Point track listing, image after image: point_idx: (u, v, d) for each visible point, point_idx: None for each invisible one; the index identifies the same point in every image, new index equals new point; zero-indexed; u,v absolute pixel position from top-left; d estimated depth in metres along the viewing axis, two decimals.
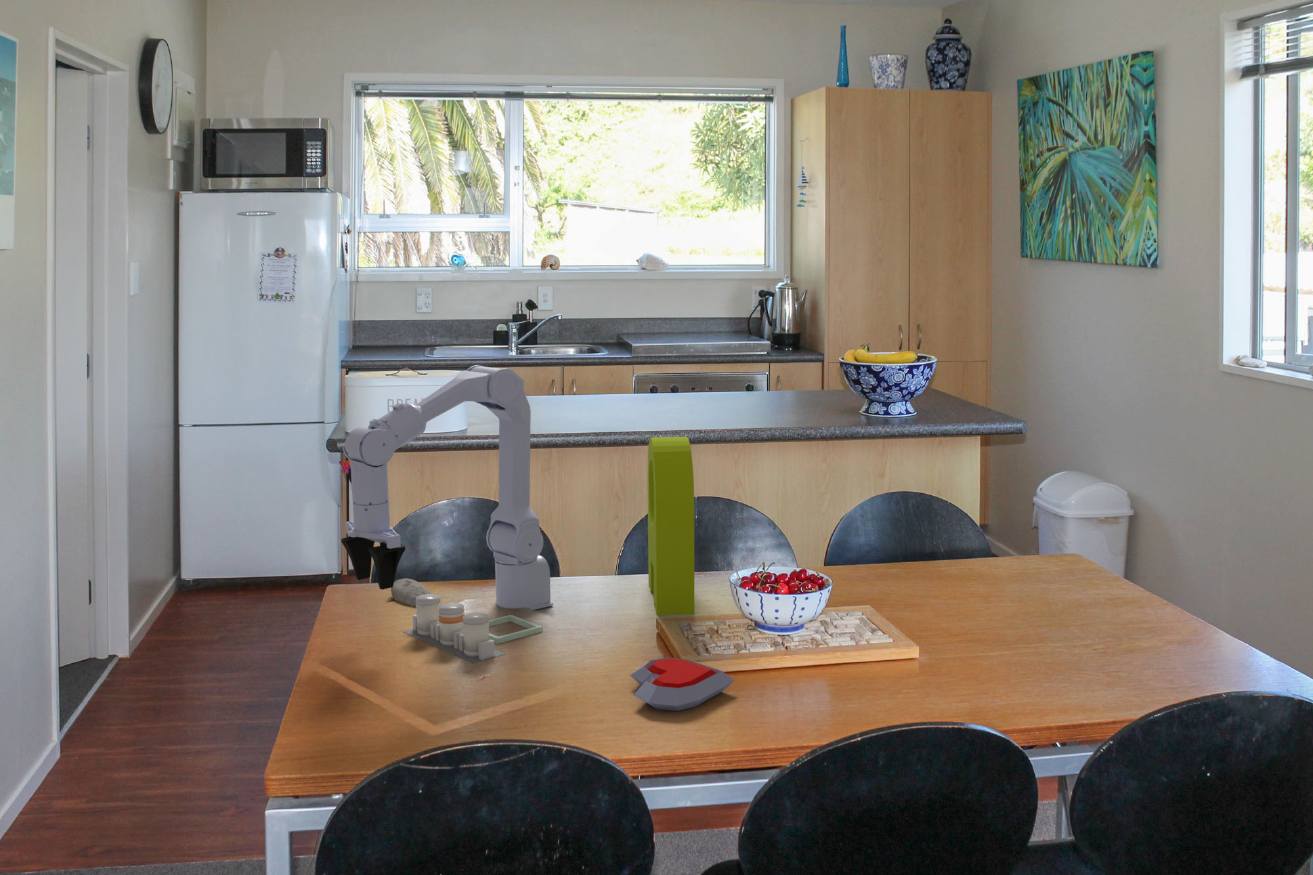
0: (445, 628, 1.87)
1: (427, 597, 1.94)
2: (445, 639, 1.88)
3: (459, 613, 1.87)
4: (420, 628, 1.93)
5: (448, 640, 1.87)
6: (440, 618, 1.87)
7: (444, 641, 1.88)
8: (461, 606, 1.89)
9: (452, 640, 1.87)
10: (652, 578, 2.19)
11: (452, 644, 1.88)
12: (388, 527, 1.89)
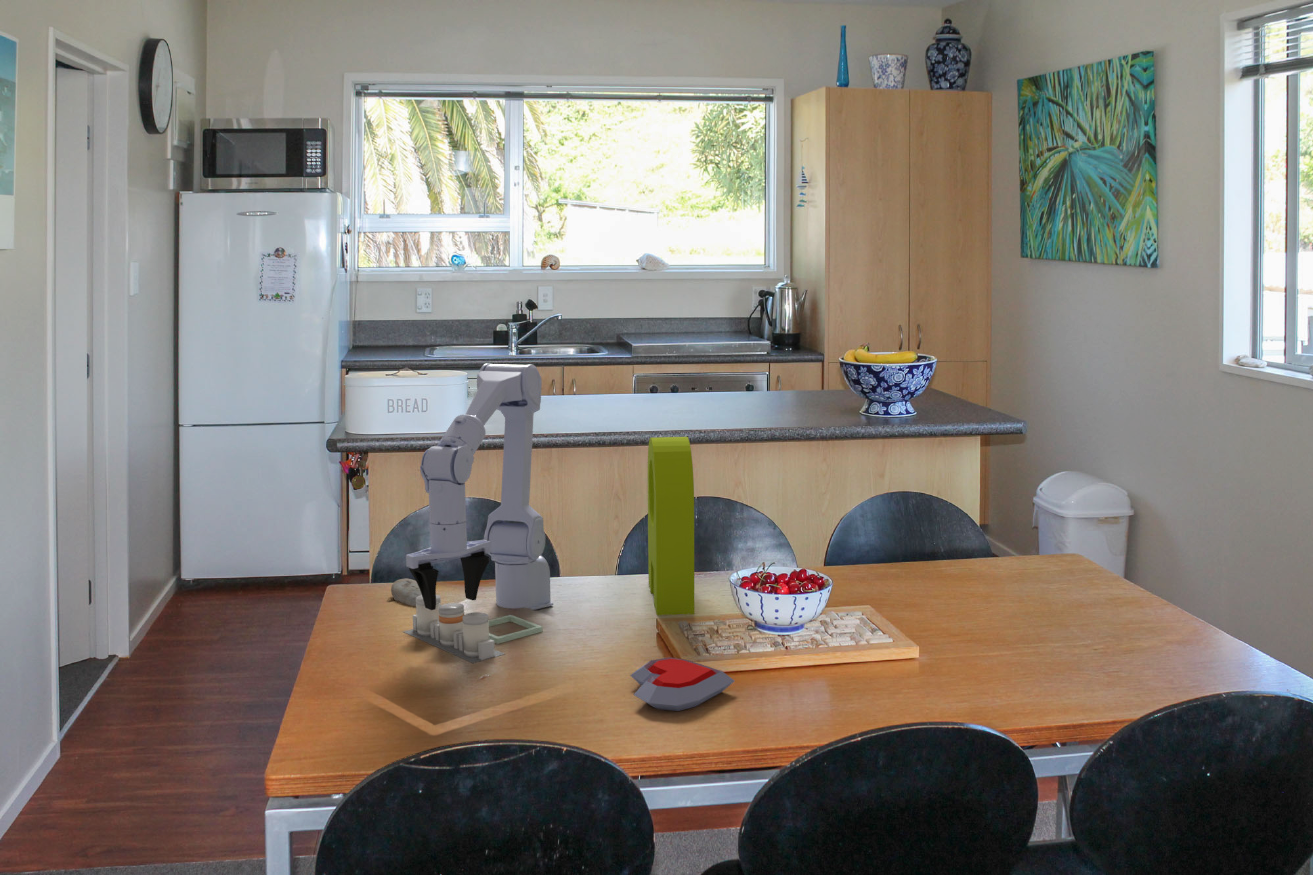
0: (445, 628, 1.87)
1: None
2: (445, 639, 1.88)
3: (459, 613, 1.87)
4: (420, 628, 1.93)
5: (448, 640, 1.87)
6: (440, 618, 1.87)
7: (444, 641, 1.88)
8: (461, 606, 1.89)
9: (452, 640, 1.87)
10: (652, 578, 2.19)
11: (452, 644, 1.88)
12: (442, 550, 1.84)
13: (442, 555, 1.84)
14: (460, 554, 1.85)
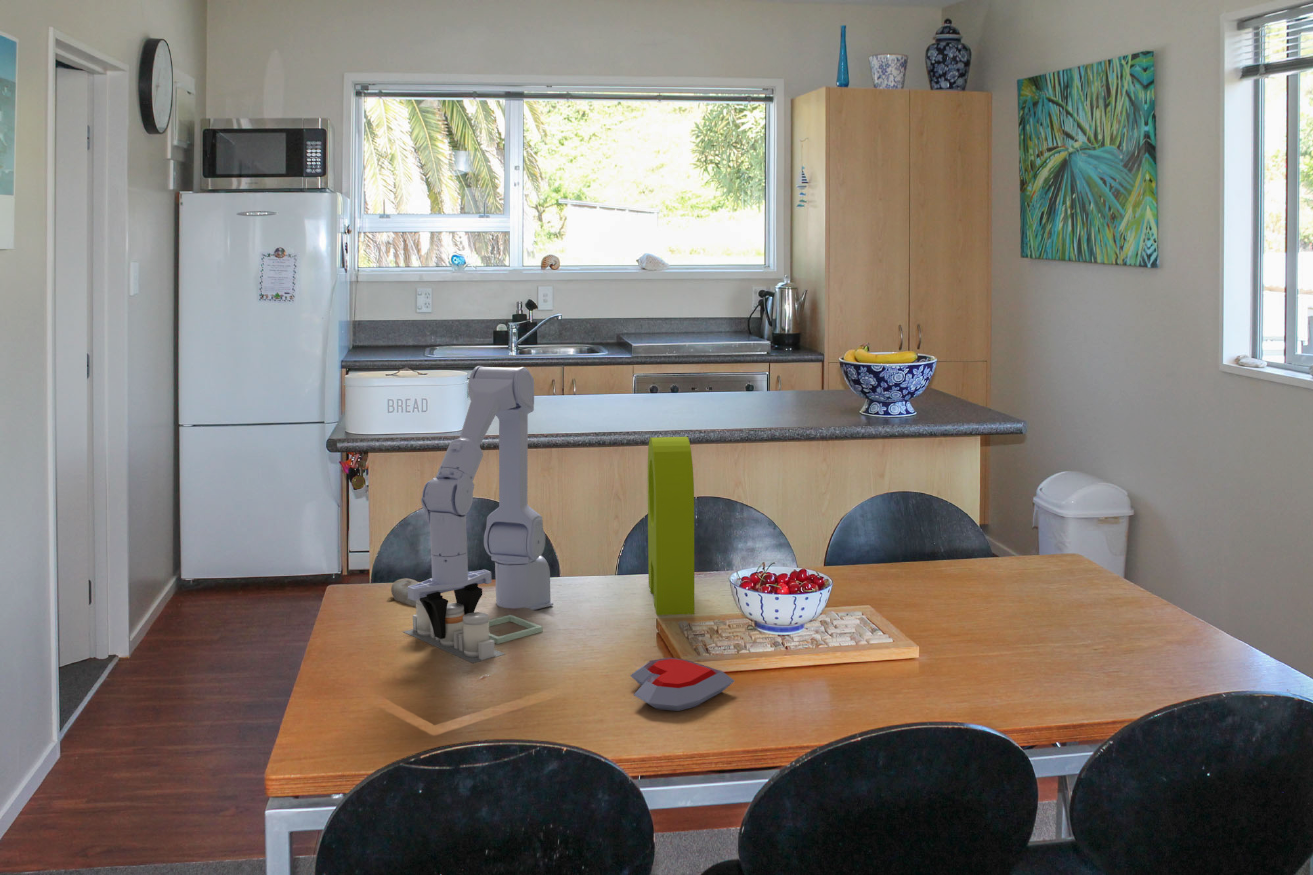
0: None
1: None
2: (445, 639, 1.88)
3: (459, 613, 1.87)
4: (420, 628, 1.93)
5: (448, 640, 1.87)
6: None
7: (444, 641, 1.88)
8: (461, 606, 1.89)
9: (452, 640, 1.87)
10: (652, 578, 2.19)
11: (452, 644, 1.88)
12: (443, 582, 1.85)
13: (443, 587, 1.84)
14: (461, 585, 1.86)
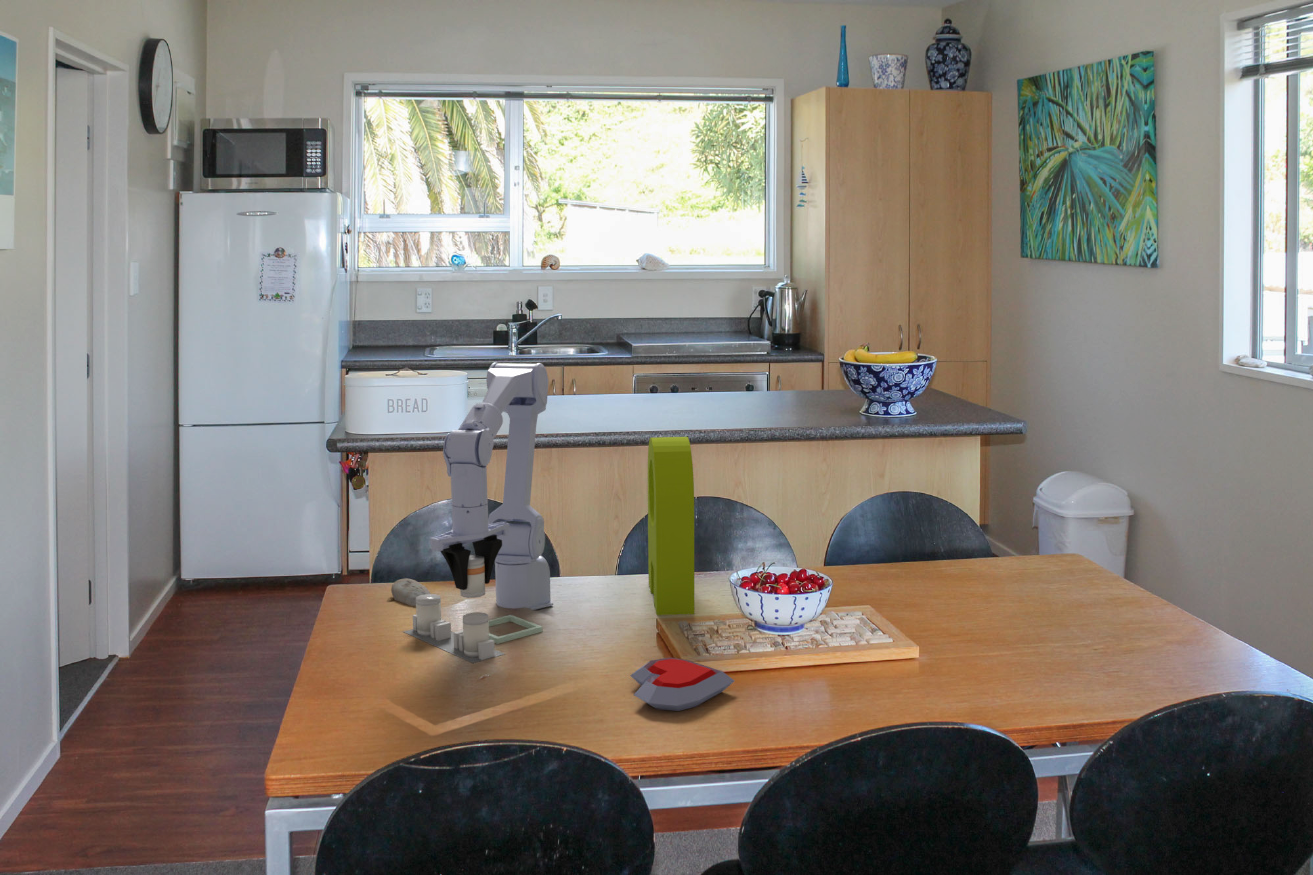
0: None
1: (427, 597, 1.94)
2: (467, 590, 1.89)
3: (480, 564, 1.89)
4: (420, 628, 1.93)
5: (470, 591, 1.89)
6: None
7: (465, 592, 1.89)
8: (481, 557, 1.90)
9: (474, 591, 1.89)
10: (652, 578, 2.19)
11: (474, 595, 1.89)
12: (466, 533, 1.86)
13: (466, 537, 1.86)
14: (483, 536, 1.87)
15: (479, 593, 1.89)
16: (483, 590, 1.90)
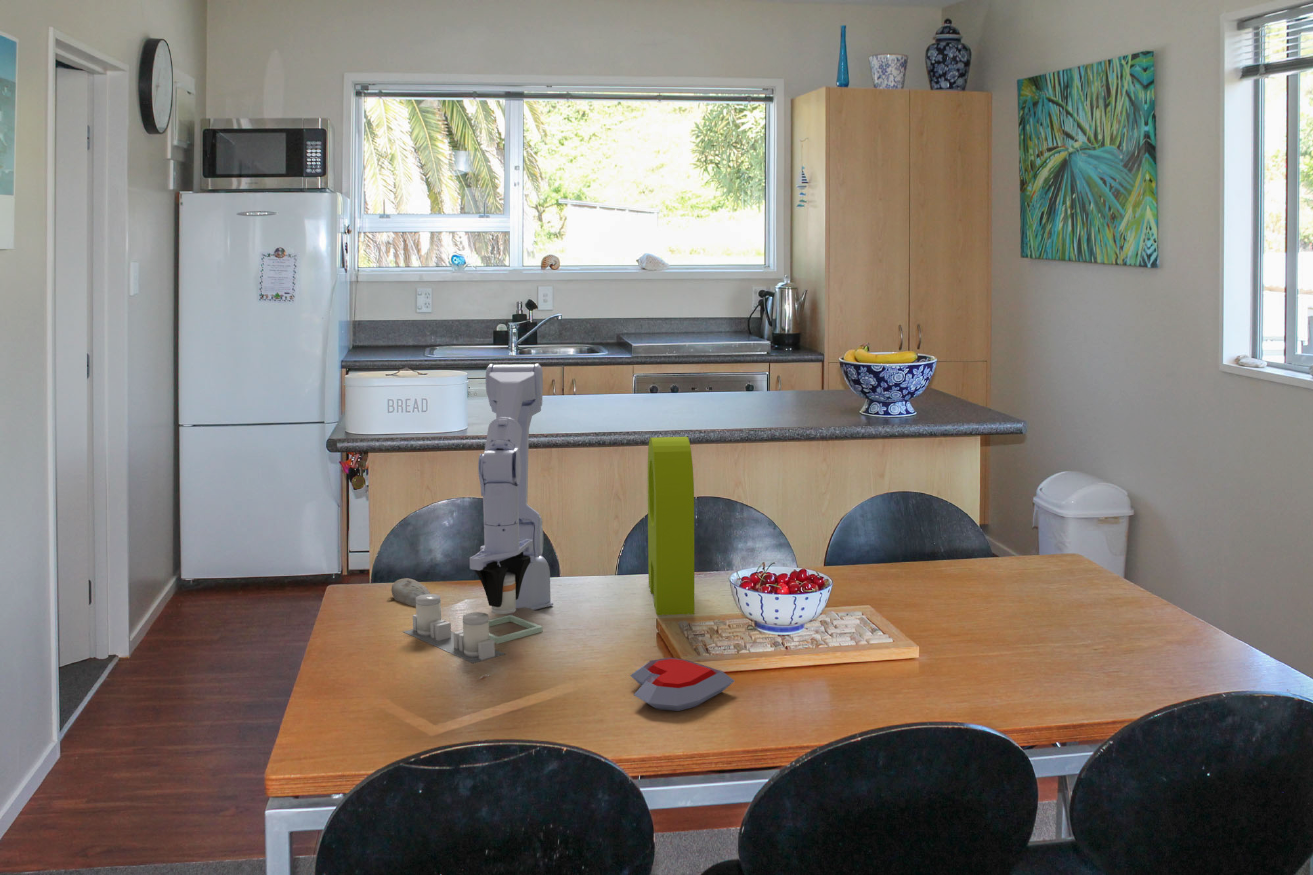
0: None
1: (427, 596, 1.94)
2: (501, 607, 1.92)
3: (513, 581, 1.93)
4: (420, 628, 1.93)
5: (504, 608, 1.92)
6: None
7: (499, 609, 1.92)
8: (511, 574, 1.94)
9: (508, 607, 1.93)
10: (652, 578, 2.19)
11: (508, 611, 1.93)
12: (502, 551, 1.90)
13: (503, 555, 1.90)
14: (517, 553, 1.92)
15: (512, 609, 1.93)
16: (515, 606, 1.94)
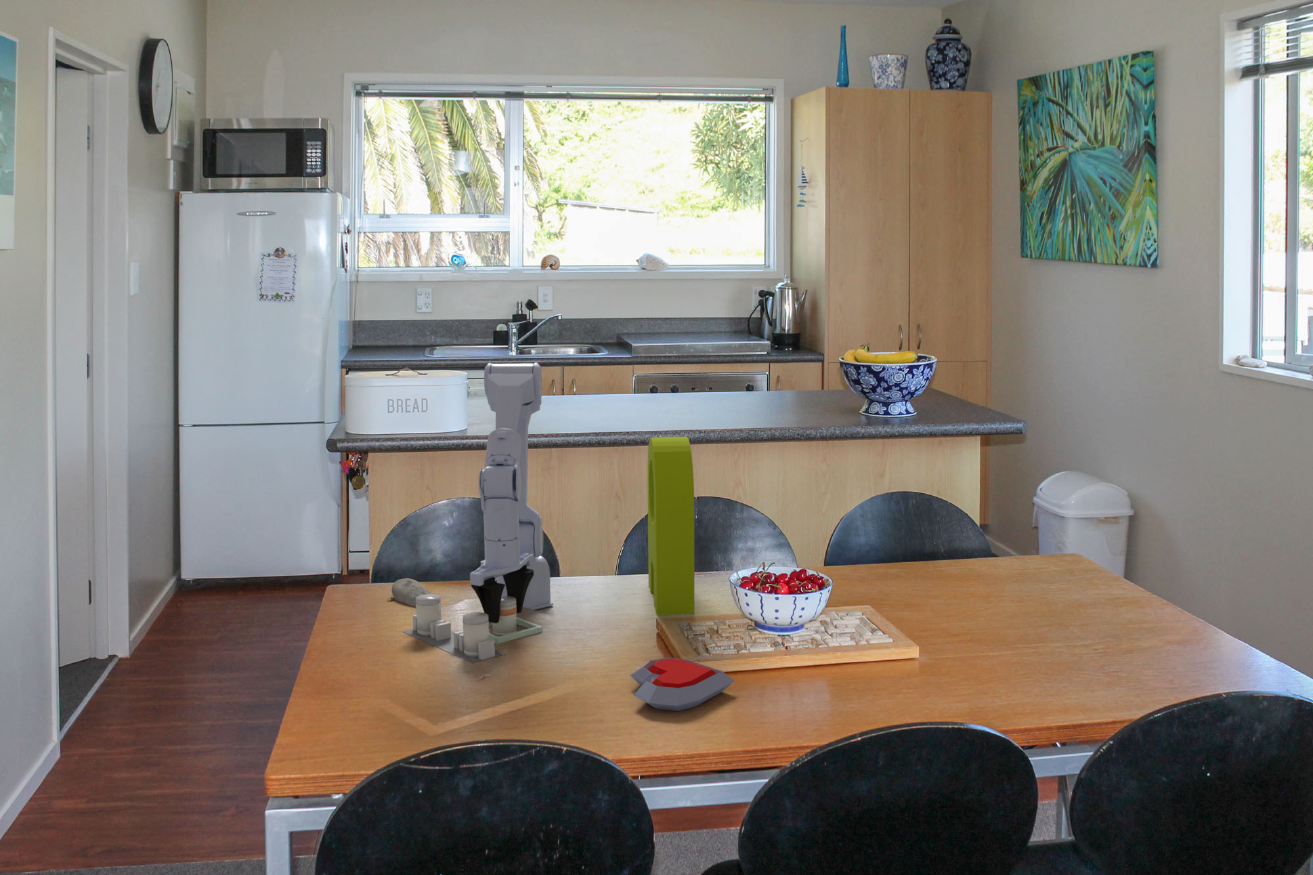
0: (501, 620, 1.93)
1: (427, 596, 1.94)
2: (502, 631, 1.93)
3: (514, 605, 1.94)
4: (420, 628, 1.93)
5: (505, 632, 1.93)
6: None
7: (500, 633, 1.93)
8: (512, 598, 1.95)
9: (509, 631, 1.93)
10: (652, 578, 2.19)
11: None
12: (502, 566, 1.90)
13: (503, 570, 1.90)
14: (518, 568, 1.92)
15: None
16: (516, 629, 1.95)
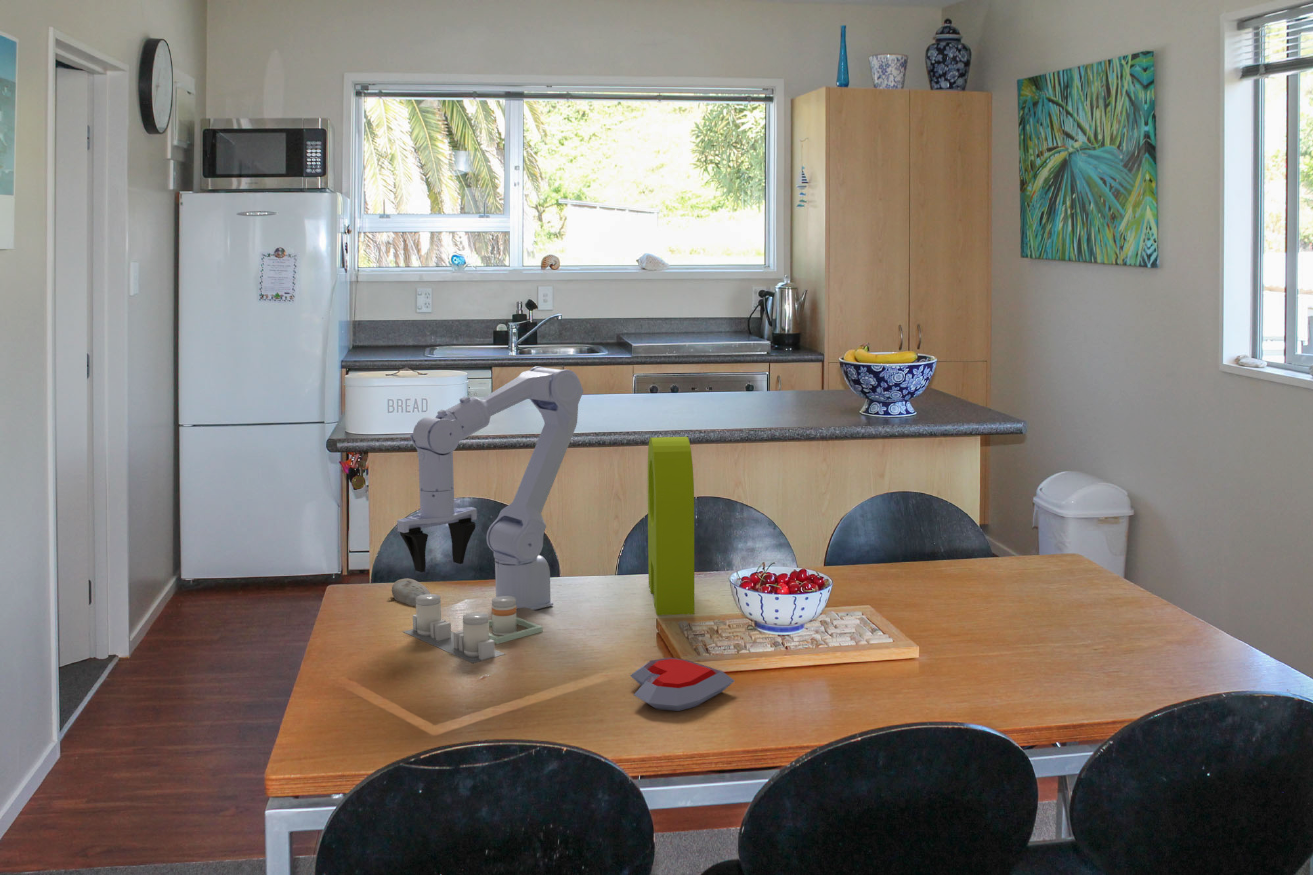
0: (501, 620, 1.93)
1: (427, 596, 1.94)
2: (502, 631, 1.93)
3: (514, 605, 1.94)
4: (420, 628, 1.93)
5: (505, 632, 1.93)
6: (496, 611, 1.93)
7: (500, 633, 1.93)
8: (512, 598, 1.95)
9: (509, 631, 1.93)
10: (652, 578, 2.19)
11: None
12: (431, 516, 1.95)
13: (431, 520, 1.95)
14: (448, 519, 1.96)
15: None
16: (516, 630, 1.95)
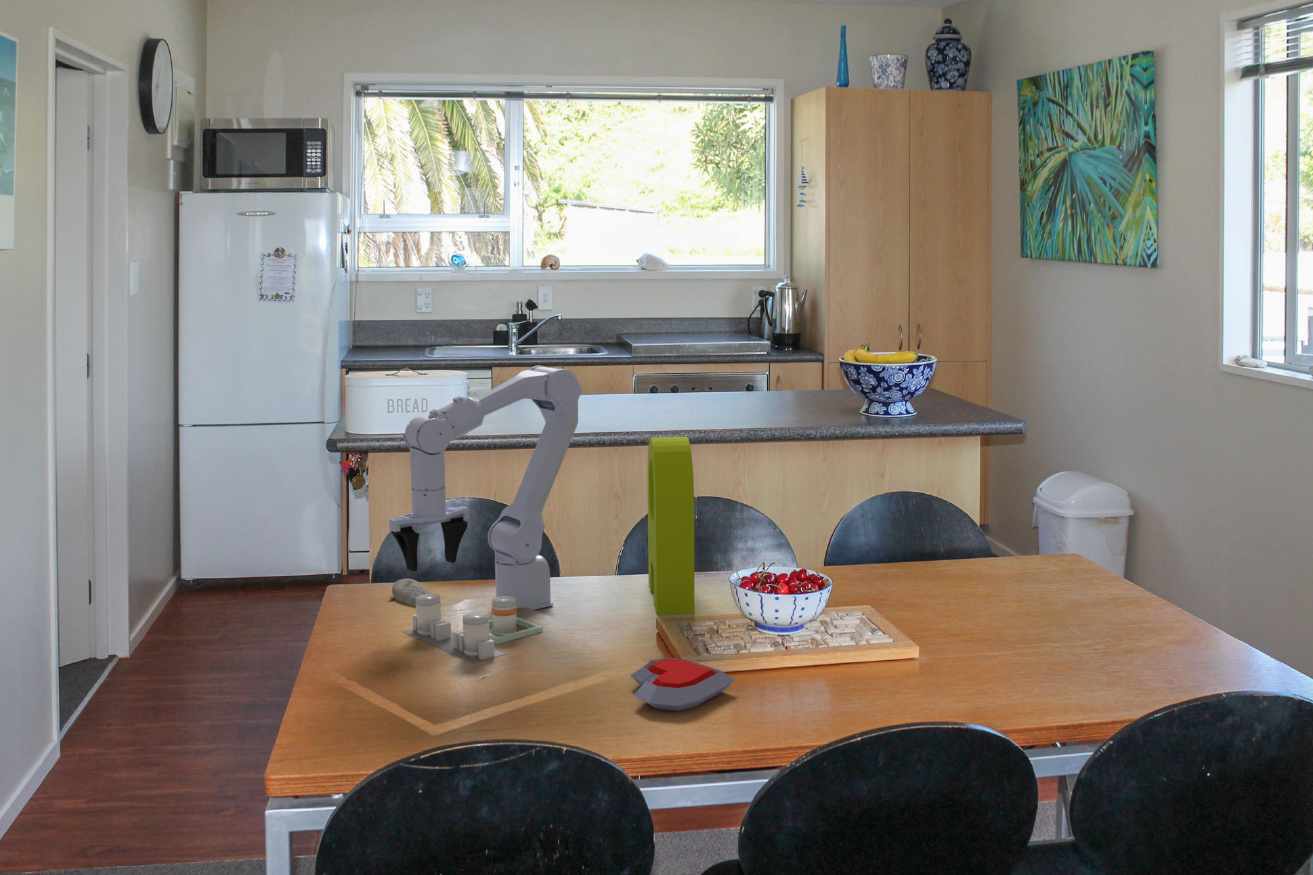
0: (501, 620, 1.93)
1: (427, 596, 1.94)
2: (502, 631, 1.93)
3: (514, 605, 1.94)
4: (420, 628, 1.93)
5: (505, 632, 1.93)
6: (496, 611, 1.93)
7: (500, 633, 1.93)
8: (512, 598, 1.95)
9: (509, 631, 1.93)
10: (652, 578, 2.19)
11: None
12: (423, 515, 1.96)
13: (423, 519, 1.96)
14: (440, 518, 1.97)
15: None
16: (516, 629, 1.95)
